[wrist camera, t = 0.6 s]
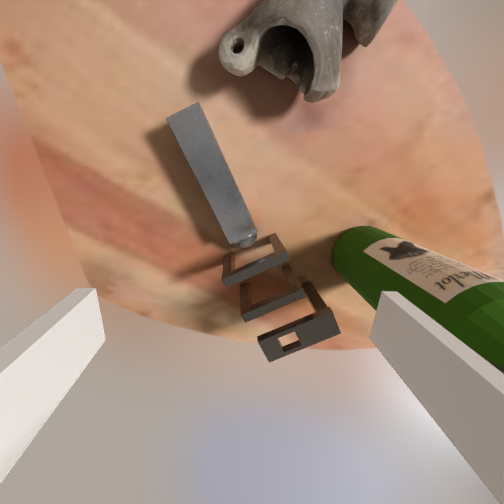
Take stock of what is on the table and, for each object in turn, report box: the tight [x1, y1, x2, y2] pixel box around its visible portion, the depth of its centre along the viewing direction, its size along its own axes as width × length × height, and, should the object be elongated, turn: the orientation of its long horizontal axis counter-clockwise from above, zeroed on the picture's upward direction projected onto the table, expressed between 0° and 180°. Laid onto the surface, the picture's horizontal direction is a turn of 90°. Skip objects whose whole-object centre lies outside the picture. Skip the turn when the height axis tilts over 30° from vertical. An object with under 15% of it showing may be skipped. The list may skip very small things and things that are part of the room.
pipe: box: [218, 0, 397, 103], centre depth 25 cm, size 16×9×15 cm
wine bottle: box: [332, 226, 504, 369], centre depth 22 cm, size 9×9×32 cm
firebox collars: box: [222, 233, 340, 362], centre depth 33 cm, size 12×10×10 cm
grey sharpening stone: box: [166, 102, 258, 248], centre depth 31 cm, size 18×4×4 cm, turn 24°
